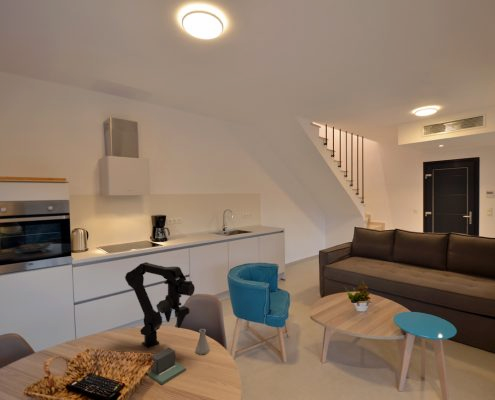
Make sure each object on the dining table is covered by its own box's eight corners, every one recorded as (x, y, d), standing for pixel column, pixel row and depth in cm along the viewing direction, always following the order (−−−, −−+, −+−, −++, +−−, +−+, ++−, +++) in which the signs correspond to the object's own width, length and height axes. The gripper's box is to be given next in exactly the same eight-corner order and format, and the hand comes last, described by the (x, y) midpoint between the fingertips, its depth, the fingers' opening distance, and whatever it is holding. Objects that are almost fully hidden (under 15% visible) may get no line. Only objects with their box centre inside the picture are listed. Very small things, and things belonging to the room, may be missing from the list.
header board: (140, 369, 119) (140, 356, 119) (164, 357, 128) (164, 345, 128) (161, 384, 109) (161, 370, 109) (186, 370, 118) (186, 357, 118)
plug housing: (151, 370, 116) (151, 356, 116) (168, 360, 123) (168, 347, 123) (156, 374, 114) (157, 359, 114) (174, 364, 121) (174, 350, 121)
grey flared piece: (206, 355, 129) (207, 334, 129) (192, 354, 131) (192, 333, 131) (212, 347, 136) (212, 327, 136) (198, 346, 138) (198, 326, 138)
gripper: (148, 292, 136) (148, 324, 136) (170, 302, 123) (169, 336, 123) (168, 287, 144) (168, 317, 144) (190, 296, 132) (190, 328, 132)
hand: (173, 324), depth 136 cm, fingers open, 9 cm apart
